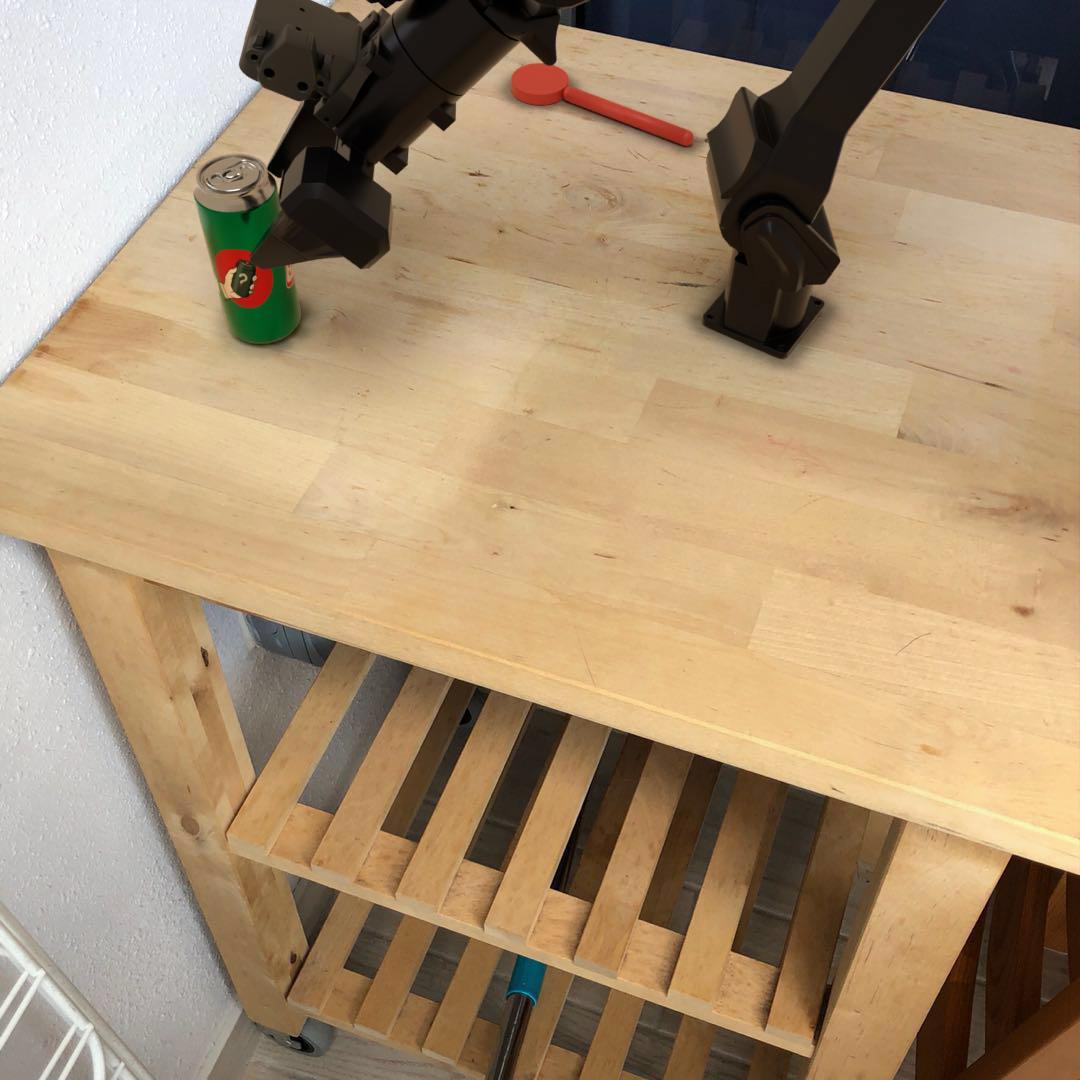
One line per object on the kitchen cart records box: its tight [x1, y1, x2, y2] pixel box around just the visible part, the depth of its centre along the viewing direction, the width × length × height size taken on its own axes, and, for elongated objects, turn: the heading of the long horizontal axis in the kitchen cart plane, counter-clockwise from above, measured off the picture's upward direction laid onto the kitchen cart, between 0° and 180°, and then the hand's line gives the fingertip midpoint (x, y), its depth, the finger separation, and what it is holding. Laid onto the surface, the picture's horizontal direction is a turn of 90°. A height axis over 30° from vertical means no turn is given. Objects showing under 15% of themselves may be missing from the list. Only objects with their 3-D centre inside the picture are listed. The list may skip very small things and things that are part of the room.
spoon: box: [510, 62, 695, 147], centre depth 97 cm, size 17×5×1 cm, turn 57°
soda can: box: [192, 153, 302, 345], centre depth 77 cm, size 5×5×12 cm
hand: (264, 216), depth 75 cm, fingers open, 9 cm apart
